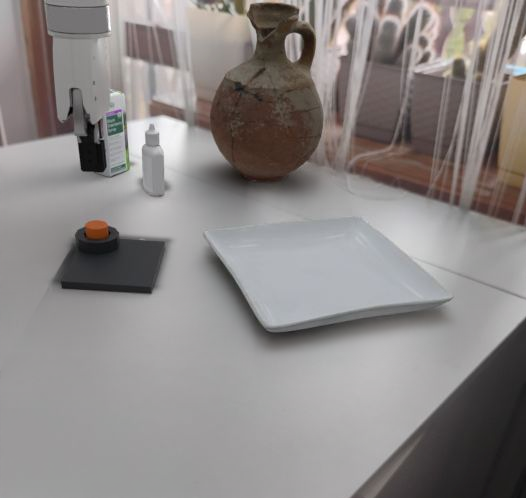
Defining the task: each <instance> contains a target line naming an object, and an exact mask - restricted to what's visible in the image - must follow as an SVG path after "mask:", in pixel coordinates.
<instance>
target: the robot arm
mask: <svg viewBox="0 0 526 498" xmlns="http://www.w3.org/2000/svg"><path fill="white" fill-rule="evenodd" d="M43 5H44V12H45V13H44V14H45V21H46V27H47V34H48V35H49V36H51V37H52V67H53V80H54V82H53V83H54V93H55V104H56V115H57V120H58V121H59V122H60V123H62V124H66V123H67V122H68V121H69V120H70V119H71V118H73V131H74V133H73V134H74V136H75V137H76V140H77V148H78V149H77V150H78V156H79V164H80V165H79V166H80V171H81V172H84V173H95V172H100V173H103V172H104V171H105V169H106V167H107V163H106V152H105V141H104V140H100V139H103V138H104V130H103V115H104V114H105V113H106V111H107V110H108V109H109V106H110V89H111V86H110V75H109V64H108V55H107V46H106V41H105V38H109V37H111V36H112V35H113V34H112V24H111V23H112V22H111V8H110V0H43Z"/></svg>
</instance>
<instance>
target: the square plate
mask: <svg viewBox="0 0 526 498" xmlns="http://www.w3.org/2000/svg"><path fill="white" fill-rule="evenodd" d="M202 236H203V238H204V240H205V241H206V242H207V244H208V245H209V246H210V248H211V249H212V250H213V252H214V253H215V255H216V256H217V257H218V259H219V260H220V261H221V262H222V264H223V266H224V267H225V269H226V270H227V271H228V272H229V274H230V275H231V277H232V278H233V279H234V281H235V283H236V285H237V286H238V288H239V290H240V291H241V293H242V295H243V297H244V298H245V300H246V302H247V303H248V305H249V307H250V309H251V311H252V312H253V314H254V315H255V317H256V320H258V323H260V325H261V326H262V327H263V328H264V330H266V331H268V332H270V333H285V332H293V331H294V332H295V331H301V330H306V329H311V328H317V327H321V326H329V325H332V324H333V325H334V324H338V323H344V322H349V321H356V320H360V319H366V318H367V319H368V318H374V317H380V316H389V315H396V314H403V313H410V312H411V313H412V312H417V311H422V310H428V309H432V308H436V307H439V306H442V305H444V304H446V303H448V302H451V301H453V299H455V295H454V294H452V292H451V291H449V290H448V289H447V288H446V287H445V286H444V285H442V283H440V282H439V280H437V279H436V278H435V277H434V276H432V274H431V273H430V272H428V271H427V270H425V268H424V267H422V266H421V265H420V264H419V263H418V262H416V261H415V260H414V259H413V258H412V257H410V256H409V254H407V253H406V252H404V250H402V249H401V248H400V247H399V246H398V245H397V244H395V243H394V242H393V241H392V240H391V239H389V238H388V237H387V236H385V234H383V233H382V232H381V231H380V230H379V229H377V228H376V227H374V226H373V225H372V224H371V223H370V222H368V221H367V220H366V219H365V218H363V217H361V216H358V215H357V216H356V215H353V216H339V217H338V216H337V217H322V218H309V219H307V218H306V219H295V220H286V221H285V220H284V221H275V222H267V223H258V224H256V223H255V224H249V225H241V226H234V227H233V226H232V227H226V228H217V229H216V228H215V229H209V230H204V231H202Z"/></svg>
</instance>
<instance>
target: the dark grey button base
mask: <svg viewBox="0 0 526 498" xmlns="http://www.w3.org/2000/svg"><path fill="white" fill-rule="evenodd" d="M108 234H109V236H108V237H106V238H102V239H90V238H87V237H86V230H85V226H83V227H80V228H78V229H77V230H76V232H75V234H74V238H75V246H76V247H77V249H78V250H76V253H75V254H74V256H73V258H72V259H71V262H70V264H69V265H68V267H67V269H66V270H65V272H64V274H63V276H62V278H61V280H60V287H61V289H63V290H77V291H79V290H81V291H94V292H95V291H96V292H112V293H128V294H142V295H143V294H144V295H147V294H148V295H151V294H152V293H153V290H154V287H155V284H156V280H157V276H158V272H159V269H160V266H161V263H162V259H163V256H164V253H165V249H166V242H165V241H164V240H161V241H160V240H148V239H147V240H145V239H132V238H130V239H129V238H121V237H120V231H118V229H117V228H116V227H113V226H110V225H108Z"/></svg>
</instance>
